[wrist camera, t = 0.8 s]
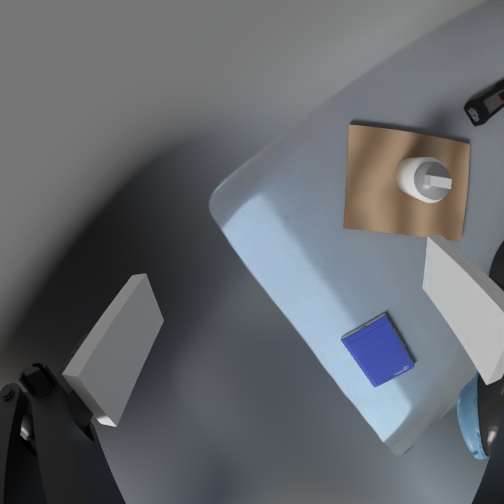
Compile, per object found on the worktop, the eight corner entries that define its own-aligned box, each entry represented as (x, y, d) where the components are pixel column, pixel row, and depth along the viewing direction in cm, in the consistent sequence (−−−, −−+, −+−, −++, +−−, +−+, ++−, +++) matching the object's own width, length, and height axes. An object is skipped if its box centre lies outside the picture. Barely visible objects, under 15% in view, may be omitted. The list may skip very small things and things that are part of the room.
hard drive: (415, 367, 42) (385, 315, 41) (374, 388, 45) (340, 341, 44) (413, 361, 43) (384, 311, 42) (373, 382, 46) (340, 335, 45)
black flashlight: (526, 91, 24) (536, 88, 22) (474, 128, 30) (484, 126, 27) (514, 71, 24) (524, 67, 21) (461, 106, 30) (469, 102, 27)
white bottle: (429, 160, 33) (463, 161, 22) (427, 197, 34) (459, 210, 24) (395, 155, 34) (419, 153, 23) (393, 192, 36) (416, 204, 25)
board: (466, 144, 31) (469, 143, 30) (458, 239, 35) (460, 241, 34) (348, 125, 35) (348, 124, 35) (343, 226, 40) (343, 228, 39)
